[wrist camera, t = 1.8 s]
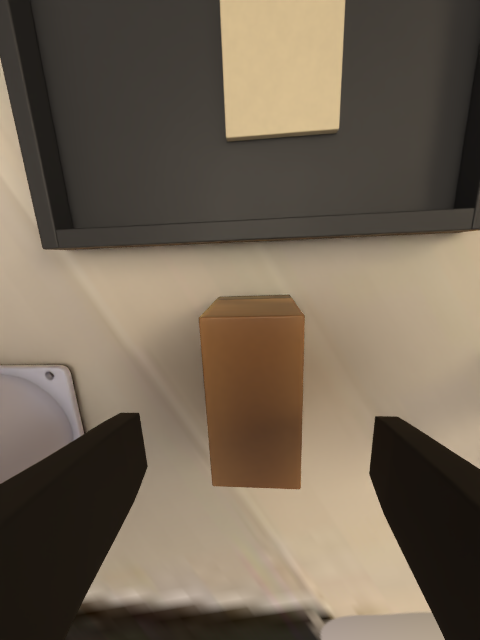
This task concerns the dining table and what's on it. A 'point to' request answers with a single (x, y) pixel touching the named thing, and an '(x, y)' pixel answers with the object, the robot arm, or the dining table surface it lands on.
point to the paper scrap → (281, 67)
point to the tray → (210, 133)
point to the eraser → (254, 390)
